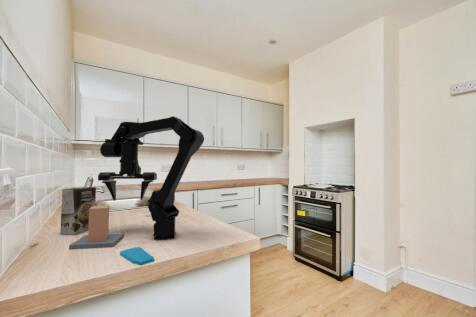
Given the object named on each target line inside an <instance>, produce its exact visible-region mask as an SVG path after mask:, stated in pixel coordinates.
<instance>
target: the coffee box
mask: <svg viewBox="0 0 476 317" xmlns="http://www.w3.org/2000/svg"><path fill="white" fill-rule="evenodd" d="M96 195H97V187H93V186H92V187H87V186H86V187H73V188H72V187H71V188H62V191H61V211H60V212H61V213H60V231H59V234H60V235H71V236H74V235H78V234H82V233H85V232H88V227H89V209H90V208H91V207H92V206H96V199H97V198H96Z"/></svg>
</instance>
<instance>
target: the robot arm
mask: <svg viewBox="0 0 476 317" xmlns="http://www.w3.org/2000/svg"><path fill="white" fill-rule="evenodd" d="M167 131H173V132H174V134H176V135H177V136H178V137H179V140H178V151H177V154H176V156H175V158H174V160H173V162H172V165H171V167H170V169H169V171H168V173H167V175H166V177H165V179H164V181H163V184H162V186H161V188H160V189H157V190H153V191H152V192H151V194H150V195H151V196H150V197H149V199H148V200H147V202H148V204H147V208H148V211H149V213H150V216H151V219H152V221H153V222H155V223H153V237H154V238H153V240H171V239H173V240H174V239H175V237H176V235H177V232H176V217H178V216H179V213H180V210H179V209H178V208H177V206H176V205H175V200H176V198H175V195H176V190H177V188H178V185H179V184H180V182H181V180H182V177H183V175H184V174H185V171H186V169H187V168H188V165H189V163H190V160H191V159H192V157H193V156H194V155H195V154H196V153H197V152H198V151H199V149H200V148H201V147H202V146H203V144H204V141H205V137H204V134H203V133H202V132H201V131H200V130H198V129H194V128H193V127H191V126H190V125H188V124H187V123H185V122H184V121H183V120H182V119H181V118H179V117H176V116H173V115H172V116H169V117H166V118H165V117H164V118H160V119H154V120H149V121H144V122H135V121H123V122H120V124H119V125H118V128H117V129H116V131H115V132H114V134H113V135H112V137H111V138H105V139H104V142H103V143H102V144H101V146H100V148H99V152H100V154H101V156H102V157H104V158H120V159H119V160H118V161H119V163H120V165H119V168H120V169H119V172H118V173H116V171H115V172H114V171H113V172H111V171H109V172H108V171H106V172H105V171H104V172H103V171H102V172H101V171H100V172H99V174H98V175H97V181H101V184H105V186H106V188H107V190H108V192H109V194H110V196H111V198H112V200H113V201H117V188H116V184H117V180H123V179H125V180H130V179H131V180H132V179H133V180H134V179H135V180H138V179H139V180H141V179H142V181H141V185H140V201H143V200H144V197H145V194H146V192H147V189H148V187H149V185H150V184H151V183H153V182H154V181H156V180H157V179H158V174H157V173H156V172H155V171H152V172H151V171H150V172H147V171H145V172H143V173H142V167H141V166H140V165H139V158H138V157H139V146H143V145H144V142H142V140H141V139H142V138H144V137H145V136H146V135H149V134H154V133H155V134H156V133H160V132H162V133H163V132H167ZM116 179H117V180H116Z"/></svg>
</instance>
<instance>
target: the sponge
mask: <svg viewBox="0 0 476 317" xmlns="http://www.w3.org/2000/svg"><path fill="white" fill-rule="evenodd" d="M119 256H121V257H123V258H125V260H127V261H130V263H132V264H134V265H135V264H136V265H139V266H143V265H147V264H150V263H154V262H155V260H156V259H155V258H154V256H153V255H151V254H150V253H149V252H147V251H146V250H145V249H143V248H142V247H141V246H136V247H131V248H127V249H123V250H121V251H119Z"/></svg>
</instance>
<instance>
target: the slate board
mask: <svg viewBox="0 0 476 317" xmlns="http://www.w3.org/2000/svg"><path fill="white" fill-rule="evenodd" d="M124 238H125V233H123V232H122V233H109V235H108V239H107V240H103V241H95V242H88V234H85V235H84V236H82V237H80V238H79V239H77V240H75V241H73V242H72V243H71V244H69V245H68V247H69V248H68V250H81V249H83V250H84V249H95V248H96V249H98V248H114V247H115V246H116V245H118V243H120V241H121V240H122V239H124Z"/></svg>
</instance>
